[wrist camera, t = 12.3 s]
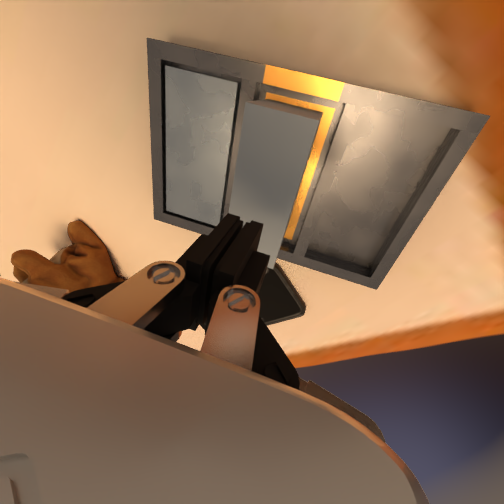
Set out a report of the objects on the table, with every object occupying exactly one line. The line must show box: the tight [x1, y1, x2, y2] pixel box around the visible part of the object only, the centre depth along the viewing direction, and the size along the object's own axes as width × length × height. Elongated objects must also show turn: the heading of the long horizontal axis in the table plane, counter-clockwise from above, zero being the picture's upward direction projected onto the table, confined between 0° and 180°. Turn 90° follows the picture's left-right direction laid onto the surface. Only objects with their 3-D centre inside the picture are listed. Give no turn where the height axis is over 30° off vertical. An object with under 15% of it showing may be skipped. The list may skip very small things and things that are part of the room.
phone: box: [200, 263, 306, 330], centre depth 32 cm, size 8×1×15 cm
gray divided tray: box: [147, 38, 490, 290], centre depth 21 cm, size 14×22×3 cm, turn 79°
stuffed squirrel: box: [0, 221, 125, 293], centre depth 30 cm, size 10×14×13 cm
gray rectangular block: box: [229, 99, 323, 269], centre depth 18 cm, size 10×4×6 cm, turn 169°
